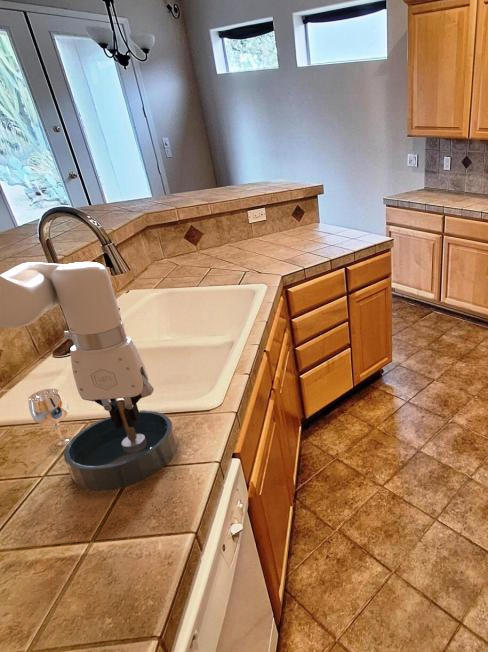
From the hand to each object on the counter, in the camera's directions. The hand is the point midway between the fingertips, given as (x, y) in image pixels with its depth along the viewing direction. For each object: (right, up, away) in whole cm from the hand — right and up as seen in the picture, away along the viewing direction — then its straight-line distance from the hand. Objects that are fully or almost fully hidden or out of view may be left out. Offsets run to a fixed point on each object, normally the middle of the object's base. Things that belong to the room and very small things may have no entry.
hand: (127, 423), depth 81 cm
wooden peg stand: (0, -5, +2) cm, 6 cm away
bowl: (-2, -8, +3) cm, 8 cm away
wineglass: (-17, -6, +7) cm, 20 cm away
